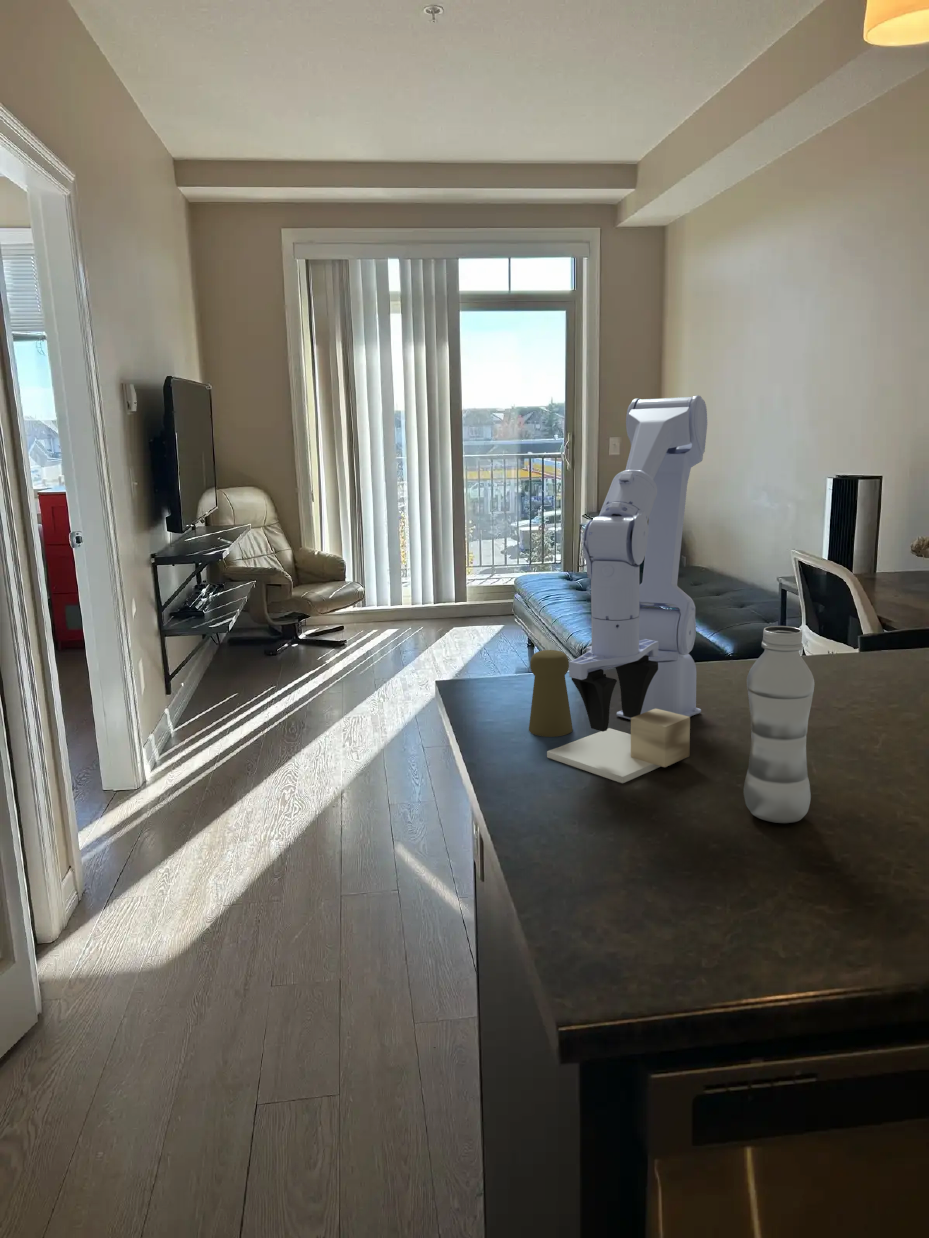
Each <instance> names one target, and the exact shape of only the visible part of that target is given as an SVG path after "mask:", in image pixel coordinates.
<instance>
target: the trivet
mask: <svg viewBox="0 0 929 1238" xmlns="http://www.w3.org/2000/svg"><path fill="white" fill-rule="evenodd" d="M546 757H547V758H548V759H550V760H554V761H556V762H560V763H563V764H565V765H568V766H570V767H573V768H577V769H580V770H583V771H586V772H589V773H592V774H594V775H597V776H600V777H603V778H606V779H607V780H608V779H609V780H612V781H614V782H617V783H619V784H625V783H627V782H629V781H631V780H634V779H636V778H639V777H640V776H642V775H645V774H648V773H649V772H651V771H654V770H656V769H658V768H661V767H662V766H658V765H655V764H652V763H649V762H645V761H642V760H639V759H635V758H632V757H631V733H627V732H624V731H620V730H617V729H613V728H611V727H608V728H607V730H606V731H604V732H602V731H598V732H595V733H593V734H590V735H587V736H585V737H581V738H579V739H577V740H574V741H572V742H569V743H566V744H563V745H561V746H559V747H555V748H553V749H549V750H547V751H546Z"/></svg>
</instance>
